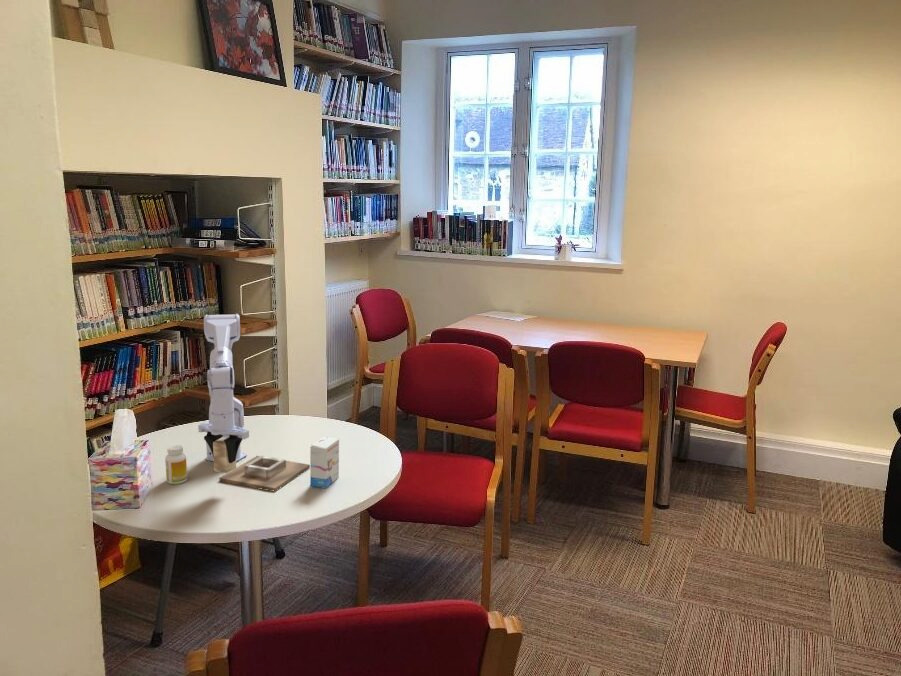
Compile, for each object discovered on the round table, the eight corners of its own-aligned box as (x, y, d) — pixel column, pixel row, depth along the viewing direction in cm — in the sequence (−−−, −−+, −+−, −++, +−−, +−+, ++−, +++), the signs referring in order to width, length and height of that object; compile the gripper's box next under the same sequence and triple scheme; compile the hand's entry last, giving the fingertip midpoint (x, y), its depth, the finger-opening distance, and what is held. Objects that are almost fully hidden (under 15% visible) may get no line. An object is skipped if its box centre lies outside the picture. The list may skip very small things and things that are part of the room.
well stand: (219, 481, 204) (218, 469, 203) (257, 458, 221) (256, 447, 220) (275, 491, 198) (274, 479, 197) (309, 467, 215) (309, 456, 214)
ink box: (326, 489, 201) (325, 447, 198) (309, 486, 202) (308, 445, 199) (339, 477, 209) (339, 437, 206) (323, 474, 210) (323, 435, 207)
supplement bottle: (191, 478, 206) (189, 445, 203) (178, 485, 201) (176, 452, 198) (175, 475, 207) (173, 442, 205) (162, 482, 202) (160, 449, 200)
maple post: (214, 470, 195) (212, 442, 193) (223, 465, 199) (222, 437, 197) (227, 473, 194) (225, 444, 192) (236, 467, 197) (235, 439, 196)
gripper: (189, 412, 191) (192, 461, 194) (236, 419, 187) (238, 470, 189) (207, 405, 198) (209, 452, 201) (253, 411, 193) (254, 460, 196)
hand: (224, 460), depth 196 cm, fingers closed on maple post, 4 cm apart
